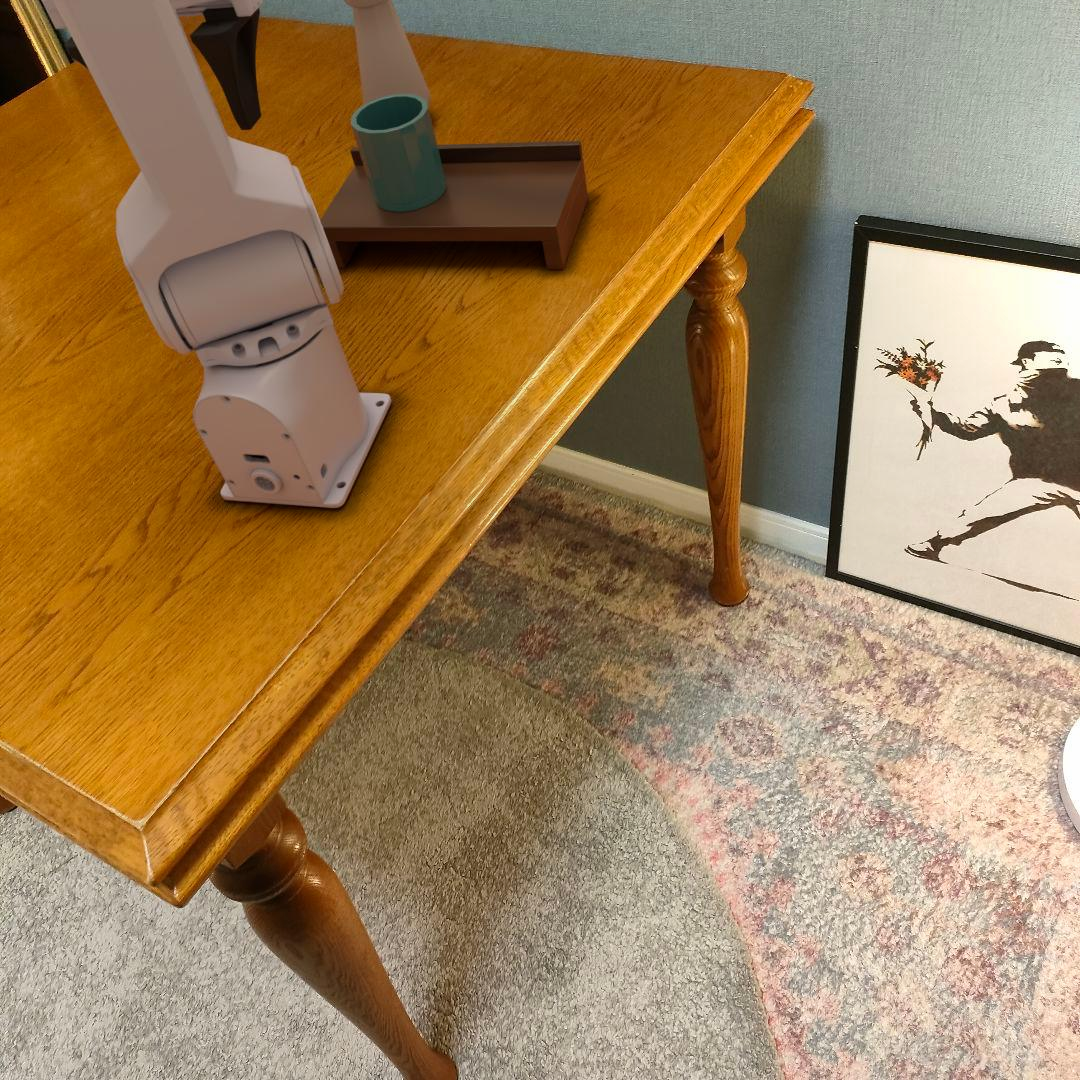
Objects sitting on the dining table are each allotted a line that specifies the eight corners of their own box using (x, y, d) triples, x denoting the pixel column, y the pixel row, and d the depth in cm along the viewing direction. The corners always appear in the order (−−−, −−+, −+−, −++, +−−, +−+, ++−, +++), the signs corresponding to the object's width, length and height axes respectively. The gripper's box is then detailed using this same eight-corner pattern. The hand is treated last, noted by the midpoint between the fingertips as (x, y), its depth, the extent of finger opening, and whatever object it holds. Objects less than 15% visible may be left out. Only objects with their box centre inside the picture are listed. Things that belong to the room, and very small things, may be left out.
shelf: (563, 270, 70) (553, 210, 66) (329, 268, 75) (309, 212, 71) (588, 199, 75) (581, 140, 72) (369, 201, 80) (352, 146, 77)
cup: (434, 212, 71) (413, 131, 66) (364, 212, 72) (339, 133, 68) (455, 171, 74) (437, 92, 70) (388, 172, 76) (366, 95, 71)
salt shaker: (425, 142, 85) (385, -21, 75) (363, 144, 87) (315, -15, 77) (443, 108, 89) (406, -52, 79) (383, 111, 90) (340, -45, 80)
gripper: (246, -129, 60) (317, 92, 70) (45, -107, 64) (140, 100, 74) (195, -85, 56) (279, 144, 66) (-17, -64, 60) (93, 149, 70)
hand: (203, 124), depth 70 cm, fingers open, 7 cm apart
